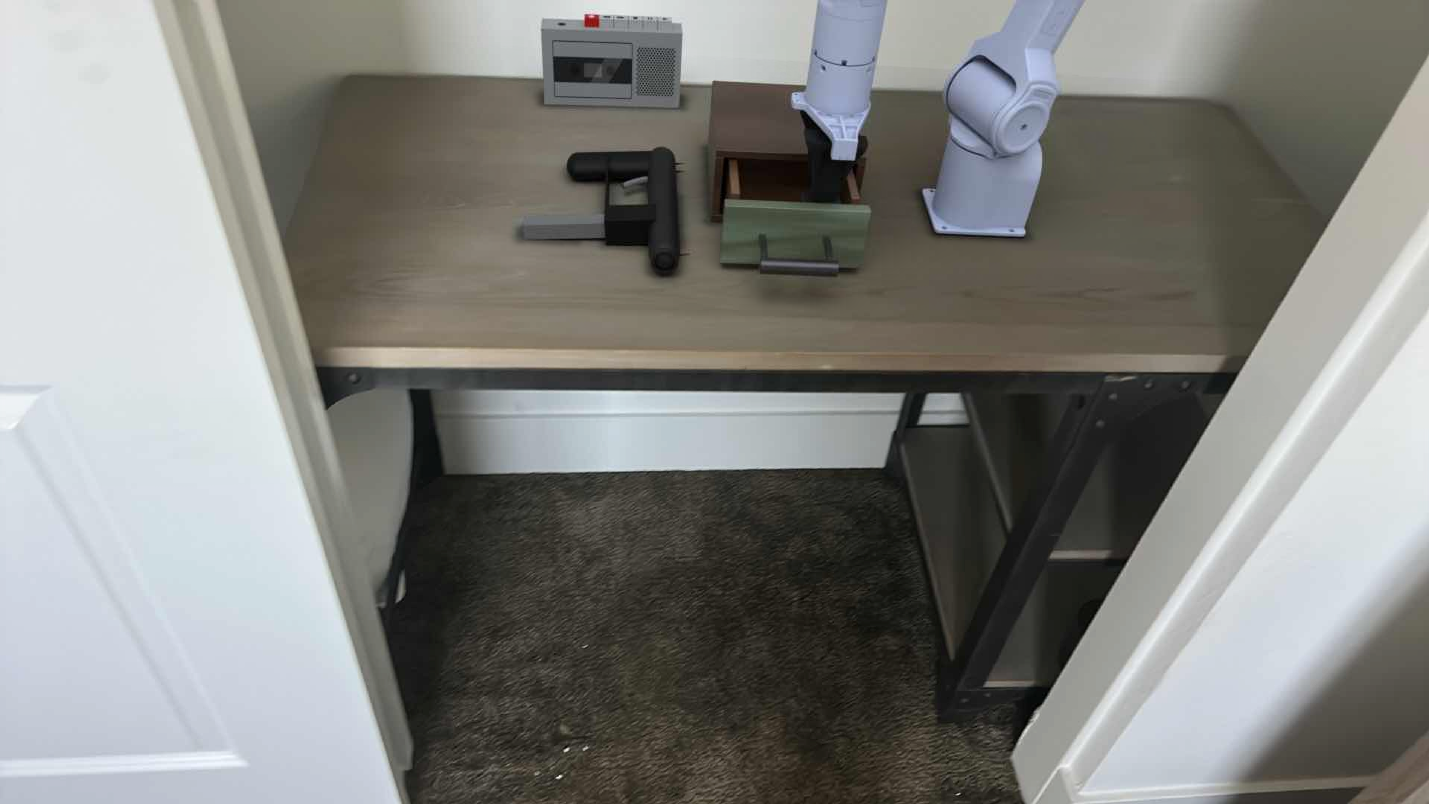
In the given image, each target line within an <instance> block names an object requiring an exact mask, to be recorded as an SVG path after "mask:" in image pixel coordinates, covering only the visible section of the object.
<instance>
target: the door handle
mask: <svg viewBox="0 0 1429 804" xmlns="http://www.w3.org/2000/svg"><path fill="white" fill-rule="evenodd" d="M678 165H685V163H684V162H683V163H682V162H677V161H676V155H675V153H674V152H673V151H672V150H671V149H670V148H668V147H666V146H657V147H654V148H653V149H651V150H625V151H623V150H622V151H620V150H618V151H616V150H615V151H577V152H573V153H572V154H571V155H569V157H568V158H567V161H566V171H567V173H568V175H569V176H570V177H571V178H572V179H574V180H605V190H604V191H605V192H604V197H605V198H604V211H603V212H604V213H593V214H591V213H589V214H586V213H585V214H584V213H583V214H546V215H543V214H542V215H541V214H540V215H523V216H522V223H521V228H522V236H523V240H524V241H525V240H563V239H564V240H567V239H568V240H569V239H574V240H575V239H605V240H604V241H605V246H642V245H643V246H645V245H647V246H648V259H649V262H650V265H651V268H652V269H653V270H654V271H655V273H658V274H661V275H669V274H672V273H673V272H675V271H676V270H677V268H678V266H679V262H680V260H681V257H685V256H690V253H681V238H680V236H681V235H680V217H679V200H678V180H677V173H678V174H679V173H686V171H685V170H677V166H678ZM615 179H616V180H618V179H619V180H621V179H623V180H624V179H625V180H626V179H630V180H627V181H625V182H623V183H621V184H620V187H621V189H622V190H624V191H625V190H627V189H630V188H632V187H635V186H639V185H642V184H646V183H647V203H644V204H643V203H638V204H637V203H636V204H610V193H611V192H610V188H611V180H615Z"/></svg>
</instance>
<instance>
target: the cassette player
mask: <svg viewBox="0 0 1429 804" xmlns="http://www.w3.org/2000/svg"><path fill="white" fill-rule="evenodd" d="M583 17H584V19H571V18H569V19H567V18H541V25H540V38H541V39H540V40H541V62H542V80H543V82H542V83H543V101H544V105H552V106H553V105H555V106H586V107H587V106H590V107H591V106H592V107H623V108H625V107H628V108H663V109H665V108H666V109H680V98H681V74H682V58H683V57H682V56H683V55H682V53H683V37H684V35H683V33H684V32H683V25H682V23H680V22H673V20H672V17H671V16H652V15H651V16H646V15H625V14H624V15H622V14H621V15H620V14H619V15H618V14H597V13H596V14H595V13H591V14H590V13H584V16H583Z"/></svg>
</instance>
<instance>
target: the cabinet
mask: <svg viewBox="0 0 1429 804" xmlns="http://www.w3.org/2000/svg"><path fill="white" fill-rule="evenodd" d="M805 90H806V85H805V84H788V83H768V82H767V83H766V82H749V81H747V82H745V81H728V80H727V81H725V80H712V81H711V93H710V108H709V120H708V121H709V122H708V136H707V137H708V139H707V164H708V165H707V166H708V167H707V168H708V186H709V187H708V188H709V189H708V191H709V209H710V210H709V211H710V212H709V213H710V222H712V223H723V212H724V194H723V177H724V166H725V157H727V158H748V159H770V160H791V161H808V148H807V145H806V142H805V137H804V129H805V125H804V122H803V119H802V117H801V114H800V110H797V109H794V108H793V107H792V105H791V95H792V93H794V92H804V91H805ZM859 135H860V136H862V133H861V132H860V133H859ZM867 160H868V156H867V151H866V152H865V153H864V154H863V155H862V156H861V157H860V158H859V160H858V161H857V162H856V163H855V165H854V166H853V167H852V169H853V173H854V177H855V181H856V186H857V190H858V194H859V198H860V197H861V191H862V186H863V181H864V176H865V171H866V165H867Z"/></svg>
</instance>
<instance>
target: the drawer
mask: <svg viewBox="0 0 1429 804" xmlns="http://www.w3.org/2000/svg"><path fill="white" fill-rule="evenodd" d="M800 192H812V180H810V176H809V169H808V161H791V160H770V159H748V158H727V157H725V166H724V177H723V194H724V212H723V222H721V223H722V224H721V225H722V226H721V235H720V249H719V263H722V264H744V265H758V273H759V275H769V276H770V275H771V276H774V275H775V276H797V277H823V278H827V277H828V278H837V277H838V276H839V271H840V268H844V269H845V268H846V269H848V268H849V269H861V265H862V260H863V255H864V250H865V247H866V246H865V245H866V240H867V235H868V231H869V230H868V229H869V226H870V221H871V216H872V210H871V206H870V204H869V205H867V204H860V200H861V199H860V197H859V194H858V190H857V186H856V181H855V177H854V173H853V169H851V171H850V172H849V174H848V176H847V178H846V181H845V183H844V185H843V188H842V190H841V192H840V194H839V195H840V200H841V204H826V203H803V202H799V197H800Z"/></svg>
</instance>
